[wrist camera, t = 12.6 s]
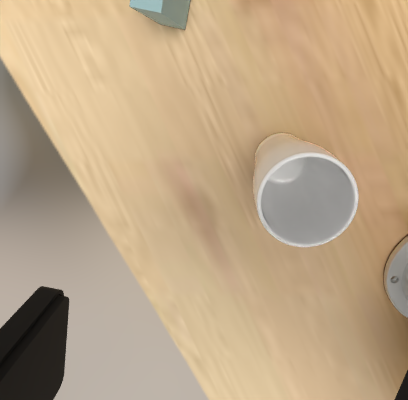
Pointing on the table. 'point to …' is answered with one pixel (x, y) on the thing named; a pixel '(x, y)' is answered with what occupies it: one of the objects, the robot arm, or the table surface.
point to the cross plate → (164, 11)
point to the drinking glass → (302, 191)
